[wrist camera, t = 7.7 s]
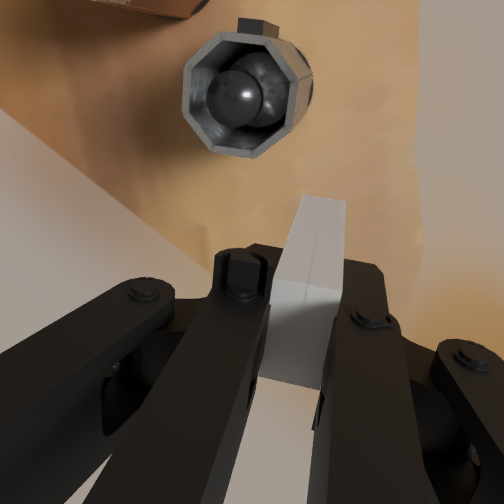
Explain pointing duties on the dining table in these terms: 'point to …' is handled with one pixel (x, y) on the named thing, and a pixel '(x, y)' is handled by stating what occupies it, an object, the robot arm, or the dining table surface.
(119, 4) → the copper press
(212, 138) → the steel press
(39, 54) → the dining table surface
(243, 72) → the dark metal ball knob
